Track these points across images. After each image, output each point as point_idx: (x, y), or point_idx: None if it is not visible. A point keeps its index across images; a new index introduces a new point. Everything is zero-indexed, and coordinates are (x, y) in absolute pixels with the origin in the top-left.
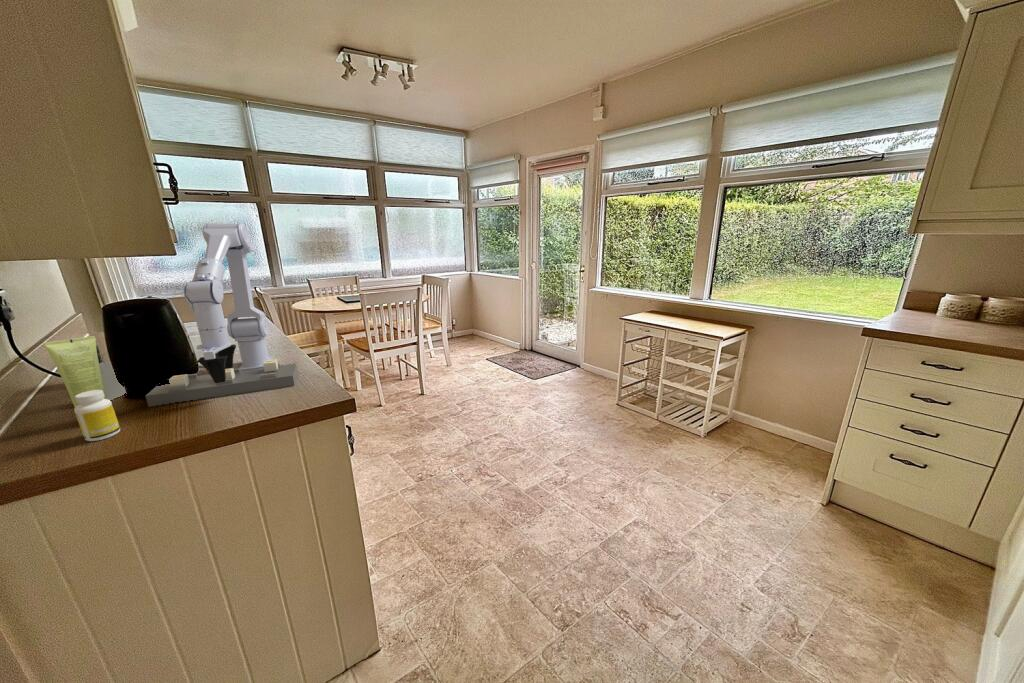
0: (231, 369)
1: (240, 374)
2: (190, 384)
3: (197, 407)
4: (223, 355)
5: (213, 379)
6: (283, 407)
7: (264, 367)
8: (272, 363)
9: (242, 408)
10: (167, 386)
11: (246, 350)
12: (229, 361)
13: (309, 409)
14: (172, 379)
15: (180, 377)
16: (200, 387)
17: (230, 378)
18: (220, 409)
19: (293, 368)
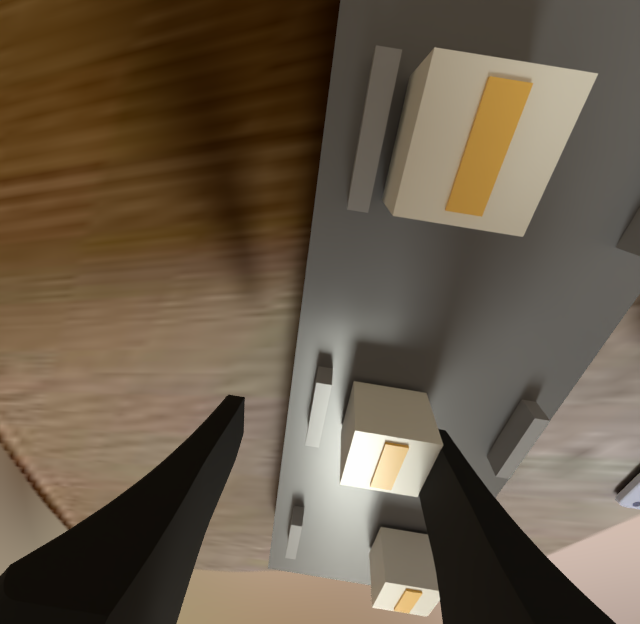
0: (386, 489)
1: None
2: None
3: (192, 249)
4: (472, 614)
5: (211, 414)
6: (89, 481)
7: (383, 555)
8: (374, 595)
9: (115, 399)
10: (564, 5)
11: None
12: (438, 548)
13: (59, 516)
14: (418, 99)
15: (440, 182)
16: (321, 291)
17: (341, 436)
18: (129, 338)
19: (362, 580)
